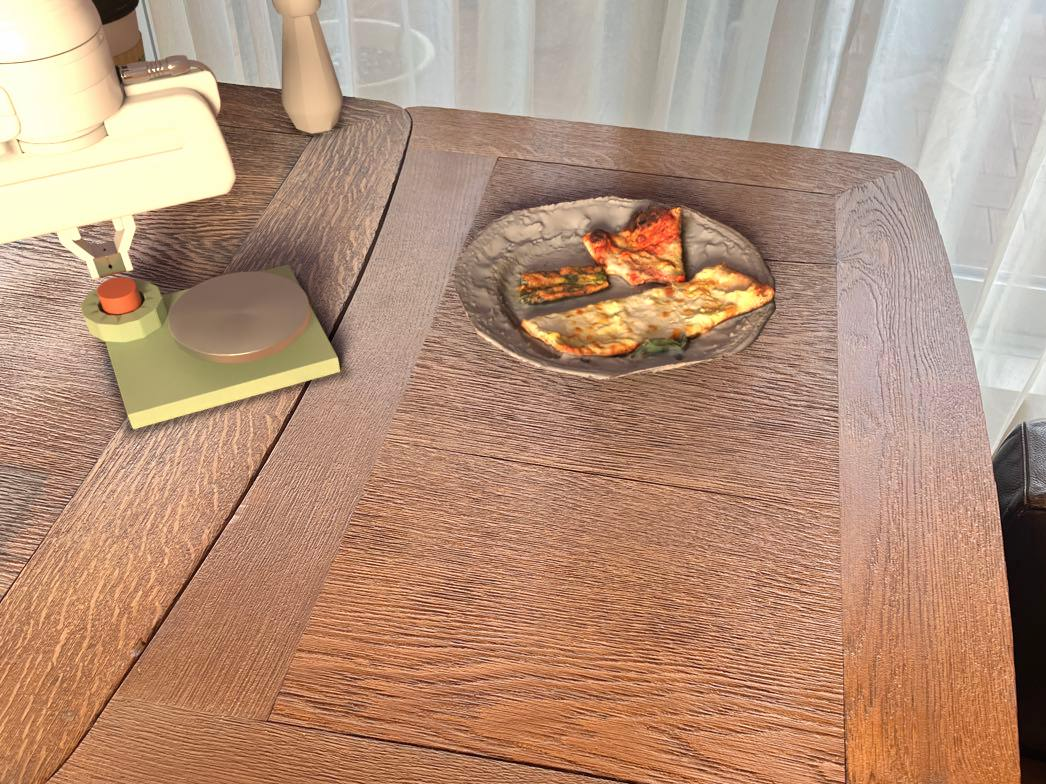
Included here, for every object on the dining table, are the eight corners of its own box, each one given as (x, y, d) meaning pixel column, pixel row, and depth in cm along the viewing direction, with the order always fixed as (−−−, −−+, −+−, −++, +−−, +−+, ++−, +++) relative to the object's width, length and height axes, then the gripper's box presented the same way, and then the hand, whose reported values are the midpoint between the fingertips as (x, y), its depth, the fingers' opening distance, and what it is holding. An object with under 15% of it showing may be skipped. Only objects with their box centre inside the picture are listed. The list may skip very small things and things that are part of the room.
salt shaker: (274, 123, 101) (246, -19, 91) (320, 103, 104) (298, -37, 94) (312, 143, 98) (287, -1, 88) (358, 122, 101) (339, -19, 91)
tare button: (106, 320, 75) (100, 303, 74) (100, 299, 77) (93, 282, 76) (145, 310, 76) (139, 293, 75) (138, 290, 78) (132, 273, 77)
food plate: (700, 200, 92) (705, 163, 89) (825, 358, 77) (835, 320, 74) (426, 247, 87) (423, 209, 84) (505, 426, 72) (504, 387, 69)
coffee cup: (195, 131, 100) (151, -36, 88) (152, 183, 93) (99, 10, 82) (100, 122, 101) (45, -44, 89) (51, 173, 94) (-15, 1, 83)
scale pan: (187, 379, 71) (184, 370, 70) (158, 300, 77) (155, 291, 76) (328, 341, 73) (326, 332, 73) (289, 268, 79) (287, 259, 79)
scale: (121, 433, 71) (107, 400, 69) (88, 322, 80) (75, 290, 77) (340, 372, 76) (334, 339, 74) (288, 273, 84) (281, 241, 82)
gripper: (198, 31, 69) (243, 216, 79) (-135, 90, 63) (-40, 282, 73) (220, 69, 65) (264, 258, 75) (-132, 135, 59) (-32, 331, 70)
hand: (112, 271), depth 74 cm, fingers closed
